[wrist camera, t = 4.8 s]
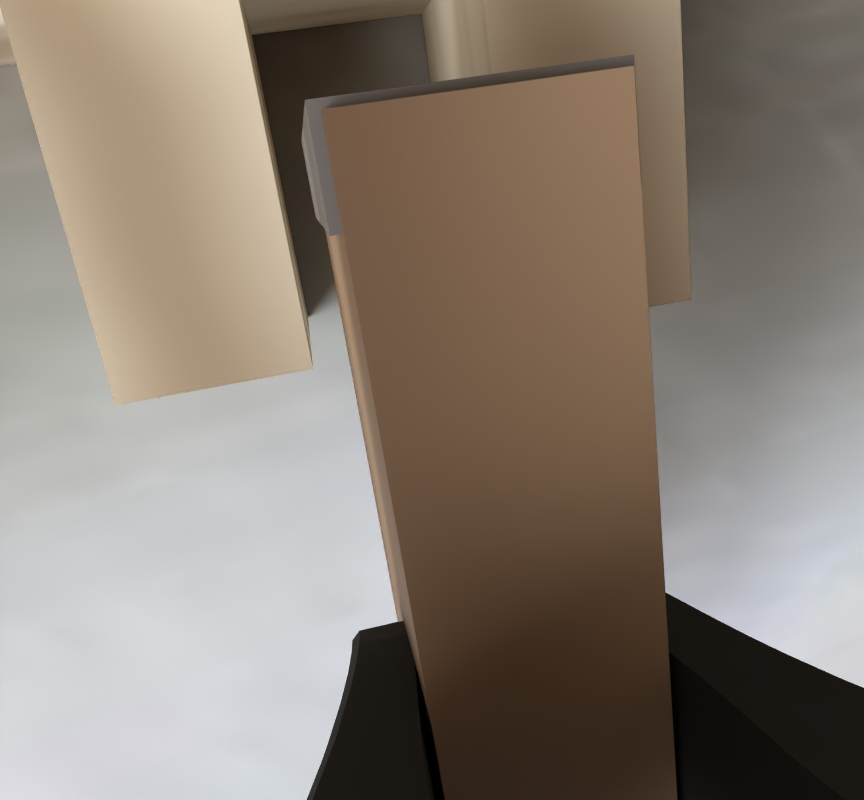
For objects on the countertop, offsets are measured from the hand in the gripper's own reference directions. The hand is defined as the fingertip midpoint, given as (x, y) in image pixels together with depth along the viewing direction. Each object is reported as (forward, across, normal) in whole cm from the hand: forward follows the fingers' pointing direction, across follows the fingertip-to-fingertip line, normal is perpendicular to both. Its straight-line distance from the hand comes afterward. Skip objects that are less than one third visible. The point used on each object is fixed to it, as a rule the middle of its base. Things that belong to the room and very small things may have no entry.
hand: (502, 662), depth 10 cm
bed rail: (+2, 0, 0) cm, 3 cm away
